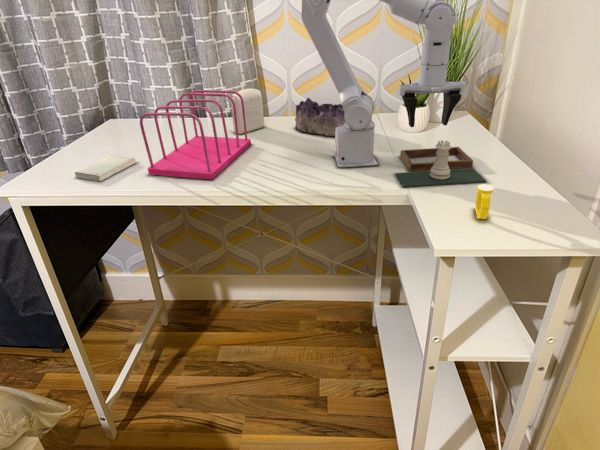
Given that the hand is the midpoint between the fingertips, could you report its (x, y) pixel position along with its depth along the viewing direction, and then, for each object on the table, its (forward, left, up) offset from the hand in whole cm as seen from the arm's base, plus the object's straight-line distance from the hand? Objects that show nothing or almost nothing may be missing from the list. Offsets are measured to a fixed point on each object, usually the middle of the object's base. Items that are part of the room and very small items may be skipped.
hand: (427, 125), depth 100 cm
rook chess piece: (+1, -10, -9) cm, 13 cm away
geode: (-21, +29, -10) cm, 37 cm away
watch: (+3, -27, -10) cm, 29 cm away
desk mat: (+1, -10, -9) cm, 13 cm away
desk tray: (+3, 0, -9) cm, 10 cm away
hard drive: (-79, +8, -10) cm, 80 cm away
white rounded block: (-44, +35, -10) cm, 57 cm away
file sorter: (-55, +12, -10) cm, 57 cm away
